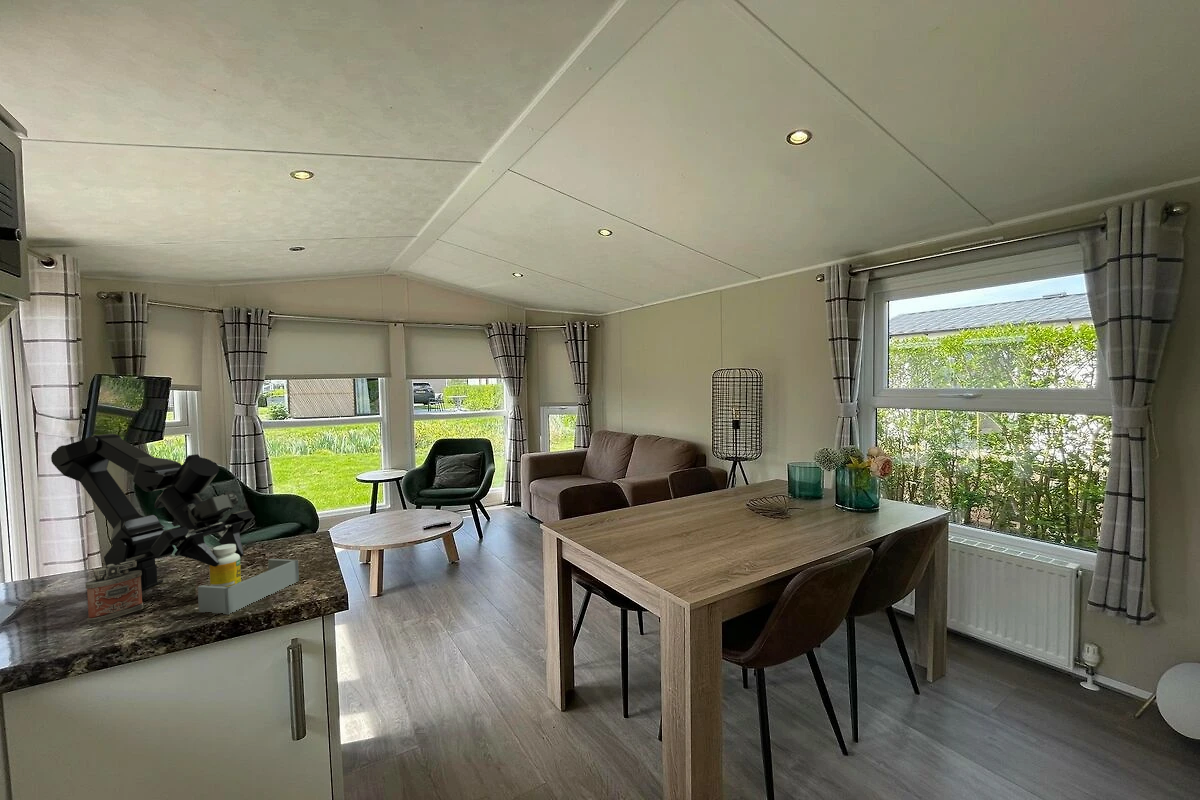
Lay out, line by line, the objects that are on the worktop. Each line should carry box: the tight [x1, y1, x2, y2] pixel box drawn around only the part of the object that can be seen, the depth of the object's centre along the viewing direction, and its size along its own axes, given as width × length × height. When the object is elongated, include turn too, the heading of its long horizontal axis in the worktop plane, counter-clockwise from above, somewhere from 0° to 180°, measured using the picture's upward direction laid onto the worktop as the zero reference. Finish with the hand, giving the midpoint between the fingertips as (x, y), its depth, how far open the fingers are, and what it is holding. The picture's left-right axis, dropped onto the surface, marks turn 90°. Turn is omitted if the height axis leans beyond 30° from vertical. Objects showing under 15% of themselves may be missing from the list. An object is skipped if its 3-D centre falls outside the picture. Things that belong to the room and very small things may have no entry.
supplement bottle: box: [208, 544, 242, 587], centre depth 106 cm, size 5×5×10 cm
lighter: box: [85, 560, 144, 624], centre depth 98 cm, size 8×3×10 cm, turn 148°
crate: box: [197, 558, 300, 615], centre depth 105 cm, size 7×17×5 cm, turn 167°
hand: (229, 560), depth 106 cm, fingers closed on supplement bottle, 5 cm apart
